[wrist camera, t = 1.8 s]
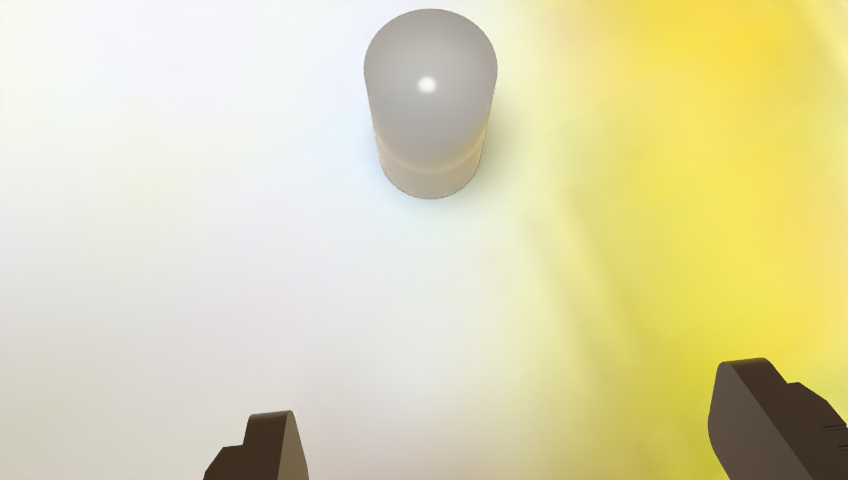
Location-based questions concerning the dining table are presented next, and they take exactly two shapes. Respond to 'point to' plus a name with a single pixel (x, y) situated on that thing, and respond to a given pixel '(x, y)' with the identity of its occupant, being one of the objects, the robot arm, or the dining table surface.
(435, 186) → the domed grey cylinder
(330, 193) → the dining table surface
